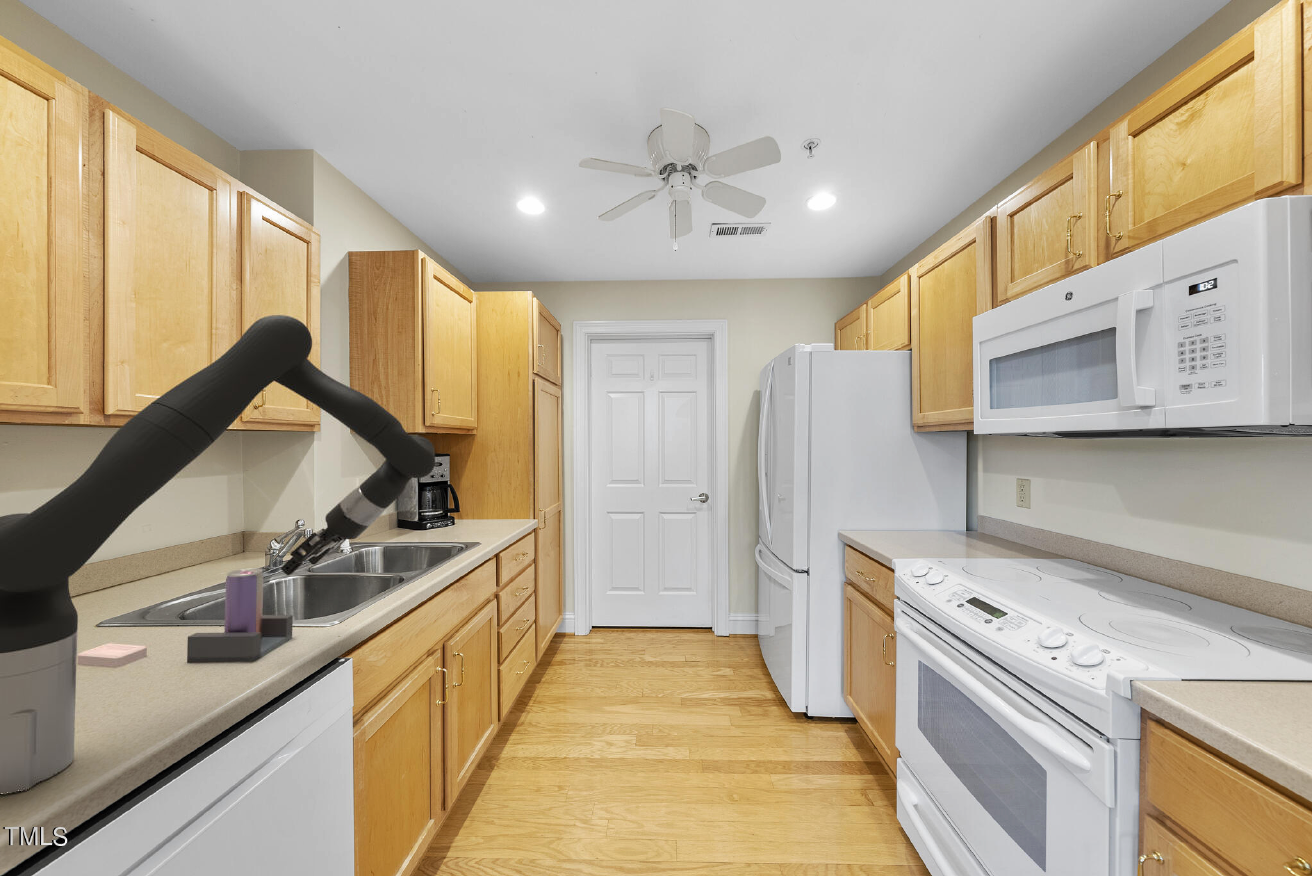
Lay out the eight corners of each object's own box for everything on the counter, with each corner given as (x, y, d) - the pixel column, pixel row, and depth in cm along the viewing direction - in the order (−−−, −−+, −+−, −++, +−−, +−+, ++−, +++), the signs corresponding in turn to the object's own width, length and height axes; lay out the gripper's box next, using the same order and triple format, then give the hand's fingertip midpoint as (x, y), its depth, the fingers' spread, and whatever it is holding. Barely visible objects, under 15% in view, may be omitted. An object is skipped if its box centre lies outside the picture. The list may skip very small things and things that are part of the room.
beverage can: (240, 652, 101) (242, 576, 101) (216, 649, 102) (218, 574, 102) (268, 641, 107) (270, 569, 107) (245, 638, 108) (247, 567, 108)
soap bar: (108, 654, 102) (109, 641, 102) (148, 657, 101) (149, 644, 101) (75, 666, 97) (75, 653, 97) (117, 669, 96) (117, 656, 96)
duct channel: (292, 637, 111) (292, 614, 111) (253, 661, 99) (254, 636, 99) (233, 638, 110) (233, 615, 110) (187, 662, 98) (187, 636, 98)
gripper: (361, 494, 114) (305, 546, 113) (325, 502, 99) (261, 562, 98) (385, 519, 114) (330, 570, 113) (353, 530, 100) (289, 589, 99)
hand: (298, 566), depth 106 cm, fingers open, 8 cm apart
